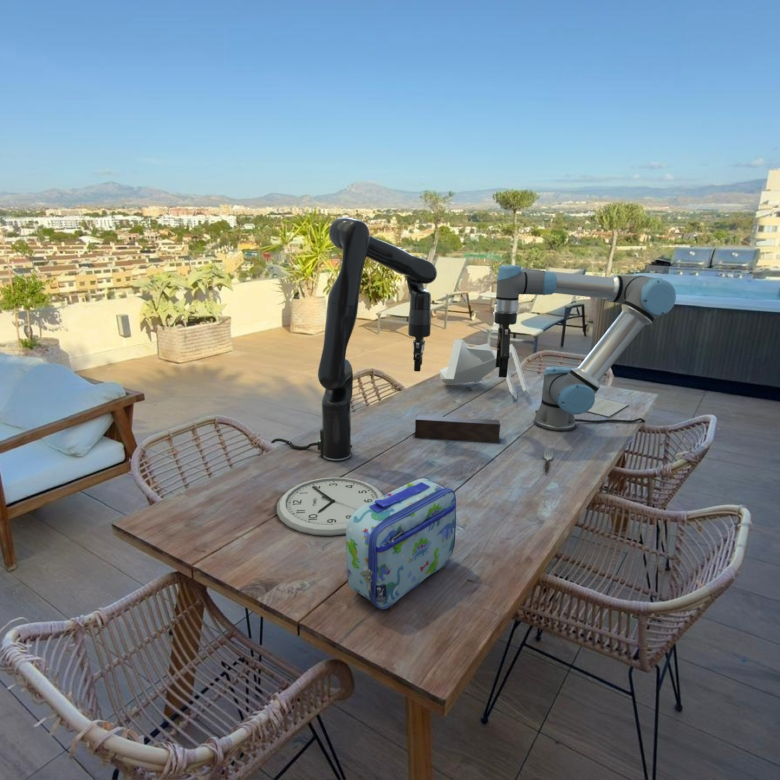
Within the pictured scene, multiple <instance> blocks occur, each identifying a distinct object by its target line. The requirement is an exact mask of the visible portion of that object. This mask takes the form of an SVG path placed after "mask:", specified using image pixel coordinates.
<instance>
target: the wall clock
mask: <svg viewBox="0 0 780 780" xmlns="http://www.w3.org/2000/svg"><path fill="white" fill-rule="evenodd" d="M384 495H385V494H384V493H383V492H382V491H381V490H380V489H379V488H377V487H376V486H374V485H372V484H371V483H369V482H365V481H362V480H359V479H355V478H349V477H338V476H337V477H335V476H333V477H332V476H331V477H322V478H317V479H312V480H307V481H305V482H302V483H299V484H297V485H295V486H293V487H292V488H290V489H288V490H287V491H286V492H285V493H284V494H283V495H281V496H280V498H279V499H278V502H277V503H276V515H277V517H278V518H279V520H280V521H281V522H282V523H283V524H285V525H286V526H287V527H288V528H290V529H293V530H295V531H297V532H299V533H303V534H308V535H312V536H327V537H328V536H329V537H331V536H332V537H333V536H342V535H346V528H347V524H348V521H349V519H350V517H351V515H352V514H353V513H354V512H355V511H356V510H357V509H358V508H360V507H362V506H364V505H366V504H368V503H370V502H372V501H374V500H376V499H378V498H380V497H382V496H384Z"/></svg>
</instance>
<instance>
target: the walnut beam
mask: <svg viewBox="0 0 780 780" xmlns="http://www.w3.org/2000/svg"><path fill="white" fill-rule="evenodd" d="M414 423H415V424H414V426H415V427H414V438H415V439H416V438H418V439H431V440H432V439H433V440H449V441H462V442H463V441H465V442H479V443H480V442H481V443H500V433H501V422H500V419H490V418H489V419H488V418H471V417H469V418H468V417H455V416H454V417H452V416H436V415H435V416H433V415H418V414H417V415H416V416H415V420H414Z"/></svg>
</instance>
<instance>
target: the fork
mask: <svg viewBox="0 0 780 780" xmlns="http://www.w3.org/2000/svg"><path fill="white" fill-rule="evenodd" d="M553 451H554V450H553V448H552V451H551V449H549V451H547V450H545V452H544V455H543V459H545V460H546V461H545V463H544V473H547V470H548V468H549V461H551V460H553Z"/></svg>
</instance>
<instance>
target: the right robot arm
mask: <svg viewBox="0 0 780 780" xmlns="http://www.w3.org/2000/svg"><path fill="white" fill-rule="evenodd" d="M495 291H496V293H495V301H494V302H493V305H495V306H494V311H496V312H495V315H493V322H494V323H495V324H499V328H497V341H496V348H497V349H496V350H497V356H496V367H497V368H498V378H505V379H506V378H507V369H508V368H509V360H508V359H509V357H510V356H509V349H510V344H511V333H512V329H511V327H510V326H513V325H515V324H517V320H518V313H517V312H518V311H519V299H520V295H532V296H533V295H535V296H549V295H550V296H551V295H553V294H559V295H567V296H578V297H585V298H595V299H604V300H607V302H609V303H616V304H620V305H621V312H620V314H618V315H617V317H616V319H615V320H614V321H613V322H612V323H611V325H610V326H609V327H608V329H607V330H606V331H605V333H604V334H603V335H602V337H601V338H600V339H599V340H598V341H597V343H596V344H595V346H593V348H592V349H591V351H590V352H589V353H588V354H587V356H586V357H585V358H584V359H583V361H582V362H581V363H580V364H579V365H578V367H570V366H548V367H546V368H545V370H544V374H543V381H542V382H543V384H542V394H541V402H540V405H539V407H538V409H536V410H535V411H534V414H535V416H534V424H535V425H536V426H537V427H539V428H542V429H544V430H549V431H556V432H567V431H572V430H574V429H575V428H576V422H579V423H591V424H592V423H593V424H597V423H598V424H601V423H627V424H628V423H629V424H630V423H636V422H639V421H641V422H643V423H646V420H645V419H644V418H642V417H637V418H636V419H614V418H613V419H612V418H611V419H597V420H596V419H595V420H593V419H581V418H575V417H576V416H577V415H578V416H579V415H582V414H586V413H588V410H589V409H591V407H592V406H593V404H594V402H595V397H596V393H597V392H598V391H599V390H600V381H601V380H602V378H603V377H604V376H605V375H606V374H607V373H608V372H609V370H610V369H611V367H612V366H613V365H614V363H615V362H616V361H617V360H618V359H619V358H620V356H621V355H622V354H623V352H624V351H625V350H626V349H627V347H628V346H629V345H630V344H631V343H632V341H633V340H634V339H635V337H636V336H637V335H638V334H639V333H640V331H641V330H642V329H643V328H644V327H645V326H647V325H652V324H653V322H654V321H655V320H656V319H657V317H660V316H663V315H665V314H668V313H669V312H670V311H671V310H672V309H673V307H674V306H675V303H676V301H677V294H676V289H675V287H674V286H673V285H672V283H671V282H669V281H668V280H665V279H663V278H661V277H651V276H647V275H617V274H613V275H612V276H610V277H609V276H600V275H599V276H598V275H589V274H579V273H571V272H561V271H551V270H540V269H533V268H528V267H525V268H522V266H521V265H514V264H513V265H512V264H503V265H500V266H499V267H498V269H497V277H496V290H495Z"/></svg>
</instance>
